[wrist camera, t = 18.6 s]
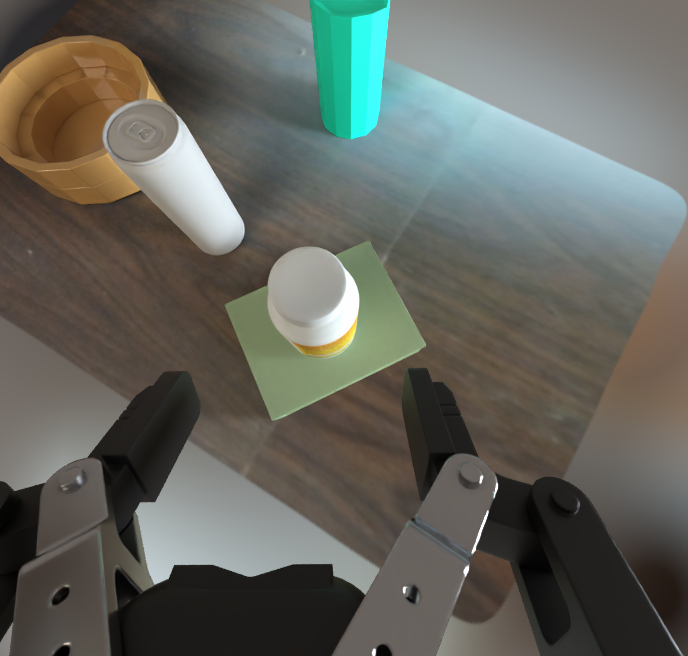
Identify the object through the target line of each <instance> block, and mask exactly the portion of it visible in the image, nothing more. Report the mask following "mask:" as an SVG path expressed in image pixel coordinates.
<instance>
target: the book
mask: <svg viewBox="0 0 688 656" xmlns="http://www.w3.org/2000/svg"><path fill="white" fill-rule="evenodd" d="M334 256H336V257H337V258H338V259H339V261H340V262H341V263H342V265H343V267H344V268H345V269H346V270H347V271H348V273H349V274H350V275H351V277H352V278H353V280H354V282H355V284H356V286H357V289H358V294H359V309H358V317H357V326H356V331H355V335H354V338H353V340H352V342H351V343H350V345H349V346H348V347H347V348H346V349H345V350H344V351H343V352H341V353H340V354H338V355H336V356H333V357H330V358H323V359H318V358H312V357H309V356H306V355H304V354H302V353H301V352H300V351H298V350H297V349H296V348H295V347H294V346H293V345H292V344H291V343H290V342H289V341H288V340H287V339H286V338H285V337H284V336H283V335H282V334H281V333H280V332H279V331H278V330H277V329H276V327H275V326H274V324H273V322H272V320H271V318H270V315H269V312H268V305H267V300H268V285H267V286H265V287H263V288H260V289H258V290H256V291H254V292H251V293H249V294H247V295H245V296H242V297H240V298H238V299H236V300H234V301H231V302H229V303H227V304H225V307H226V310H227V312H228V314H229V317H230V319H231V322H232V324H233V327H234V329H235V332H236V334H237V337H238V339H239V341H240V344H241V346H242V349H243V351H244V354H245V356H246V359H247V361H248V363H249V366H250V368H251V371H252V373H253V376H254V378H255V381H256V383H257V385H258V388H259V390H260V393H261V395H262V398H263V400H264V403H265V405H266V408H267V410H268V412H269V415H270V417H271V420H272V421H273V420H277V419H281V418H283V417H285V416H287V415H289V414H291V413H293V412H295V411H297V410H299V409H301V408H303V407H305V406H307V405H309V404H312V403H314V402H316V401H318V400H320V399H322V398H324V397H326V396H328V395H330V394H332V393H334V392H336V391H338V390H340V389H342V388H344V387H346V386H348V385H351V384H353V383H355V382H357V381H359V380H361V379H363V378H365V377H367V376H369V375H371V374H373V373H375V372H377V371H379V370H381V369H383V368H385V367H388V366H390V365H392V364H394V363H396V362H398V361H400V360H402V359H404V358H406V357H408V356H410V355H412V354H414V353H416V352H418V351H419V349H421V348H423V347H425V346H426V344H425V342H424V340H423V339H422V337H421V335H420V333H419V331H418V329H417V328H416V326H415V324H414V322H413V320H412V318H411V317H410V315H409V313H408V311H407V309H406V307H405V306H404V304H403V302H402V300H401V298H400V296H399V295H398V293H397V291H396V289H395V287H394V285H393V284H392V282H391V280H390V278H389V276H388V274H387V273H386V271H385V269H384V267H383V265H382V263H381V262H380V260H379V258H378V256H377V254H376V252H375V251H374V249H373V247H372V245H371V243H370V241H369V240H367V241H365V242H363V243H361V244H358V245H356V246H354V247H352V248H350V249H347V250H345V251H343V252H341V253H338V254H336V255H334Z"/></svg>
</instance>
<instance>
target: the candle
mask: <svg viewBox="0 0 688 656" xmlns="http://www.w3.org/2000/svg"><path fill="white" fill-rule="evenodd" d="M389 6H390V0H310V9H311V19H312V29H313V39H314V49H315V59H316V69H317V79H318V89H319V99H320V109H321V117H322V120H323V123H324V125H325V128H326V129H327V130H329V131H330V132H331V133H333V134H334V135H335V136H337V137H342V138H348V139H353V138H357V137H361V136H364V135H366V134H367V133H368V132H369V131H371V130H372V129H373V128H374V127H375V126H376V122H377V118H378V114H379V106H380V96H381V86H382V76H383V66H384V56H385V45H386V35H387V26H388V16H389Z"/></svg>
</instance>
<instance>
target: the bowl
mask: <svg viewBox="0 0 688 656" xmlns="http://www.w3.org/2000/svg"><path fill="white" fill-rule="evenodd" d="M141 99H152V100H157V101H160V102H164V103H165V104H167V102H166V100H165V99H164V97H163V96H162V94H161V92H160V91H159V89H158V87H157V86H156V84H155V83H154V81H153V79H152V78H151V76H150V74H149V73H148V71H147V70H146V68H145V66H144V65H143V63H142V61H141V60H140V58H138V57H137V56H136V55H135V54H133V53H132V52H131V51H130V50H128V49H127V48H126V47H125V46H123V45H122V44H121V43H119V42H116V41H112V40H108V39H105V38H101V37H97V36H94V35H93V36H92V35H86V36H70V37H62V38H61V37H60V38H58V39H55V40H52V41H49V42H47V43H44V44H41V45H38V46H35V47H33V48H30V49H29V50H27V51H26V52H25V53H23V54H22V55H20V56H19V57H18V58H16V59H15V60H14V61H12V62H11V63H10V64H8V65H6V66H5V68H4V69H3V70H2V72H1V73H0V156H1V157H2V158H3V159H4V160H5V161H6V162H7V163H9V164H10V165H12V166H13V167H14V168H16V169H17V170H19V171H20V172H22V173H23V174H25V175H26V176H27V177H29V178H30V179H32V180H33V181H35V182H36V183H37V184H39V185H40V186H42V187H43V188H45V189H46V190H48V191H49V192H50V193H52V194H53V195H55V196H57V197H60V198H63V199H66V200H69V201H72V202H75V203H78V204H97V203H111V202H113V201H116V200H118V199H121V198H123V197H126V196H128V195H130V194H133V193H135V192H138V191H140V190H141V189H140V188H139V187H138V186H137V185H136V184H135V183H134V182H133V181H132V180H131V179H130V178H129V177H128V176H127V175H126V174H125V173H124V172H123V171H122V170H121V169H120V168H119V167H118V166H117V165H116V163H115V162H114V161H113V159H112V158H111V156H110V154H109V153H108V152H107V150H106V149H105V147H104V144H103V141H102V131H103V128H104V125H105V123H106V121H107V120H108V118H109V117H110V115H111V114H112V113H113V112H115V111H116V110H117V109H118V108H120V107H121V106H123V105H125V104H126V103H129V102H132V101H135V100H141ZM167 105H168V104H167Z"/></svg>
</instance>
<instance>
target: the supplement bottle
mask: <svg viewBox="0 0 688 656" xmlns="http://www.w3.org/2000/svg"><path fill="white" fill-rule="evenodd" d="M267 305H268V312H269V315H270V318H271V320H272V322H273V324H274V326H275V327H276V329H277V330H278V331H279V332H280V333H281V334H282V335H283V336H284V337H285V338H286V339H287V340H288V341H289V342H290V343H291V344H292V345H293V346H294V347H295V348H296V349H297V350H298V351H300V352H301V353H302V354H304V355H306V356H309V357H312V358H318V359H323V358H330V357H333V356H336V355H338V354H340V353H341V352H343V351H344V350H345V349H346V348H347V347H348V346H349V345H350V343H351V342H352V340H353V338H354V335H355V331H356V326H357V317H358V309H359V294H358V289H357V286H356V284H355V282H354V280H353V278H352V277H351V275H350V274H349V273H348V271H347V270H346V269H345V268H344V267H343V265H342V263H341V262H340V261H339V259H338V258H337V257H336V256H334V255H333V254H332V253H330V252H329V251H327V250H324V249H322V248H318V247H300V248H296V249H293V250H291V251H289V252H287V253H286V254H284V255H283V256H282V257H281V258H280V259H279V260H278V261H277V262H276V263H275V264H274V266H273V268H272V270H271V272H270V275H269V279H268V300H267Z"/></svg>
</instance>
